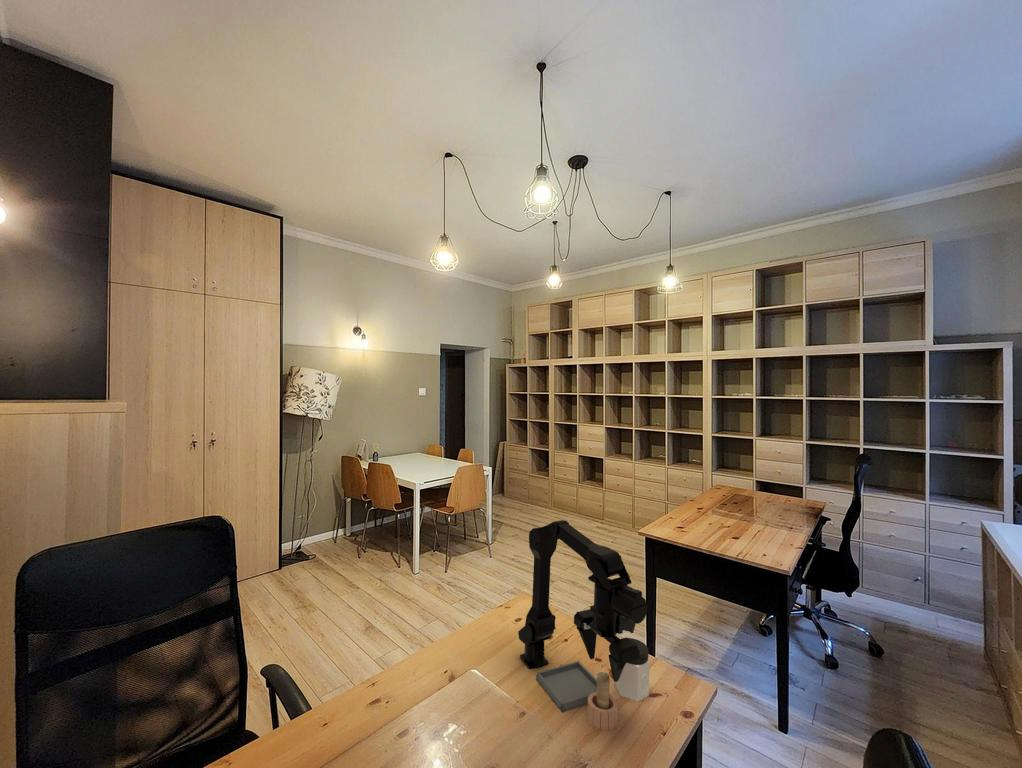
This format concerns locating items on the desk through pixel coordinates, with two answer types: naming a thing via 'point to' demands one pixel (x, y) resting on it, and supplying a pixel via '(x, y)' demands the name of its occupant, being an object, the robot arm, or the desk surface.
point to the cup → (602, 713)
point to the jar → (635, 675)
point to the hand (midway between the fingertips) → (603, 669)
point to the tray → (568, 685)
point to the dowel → (602, 691)
